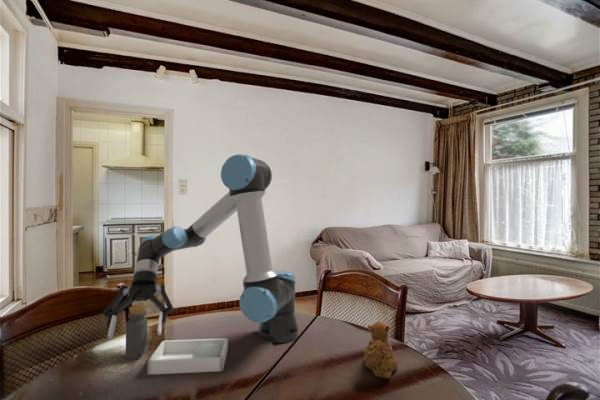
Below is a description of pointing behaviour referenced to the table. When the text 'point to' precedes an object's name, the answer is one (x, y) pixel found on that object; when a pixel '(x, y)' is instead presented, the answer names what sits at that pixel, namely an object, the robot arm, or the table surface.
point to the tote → (186, 357)
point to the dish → (206, 351)
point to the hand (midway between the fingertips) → (134, 335)
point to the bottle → (136, 332)
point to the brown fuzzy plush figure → (380, 352)
